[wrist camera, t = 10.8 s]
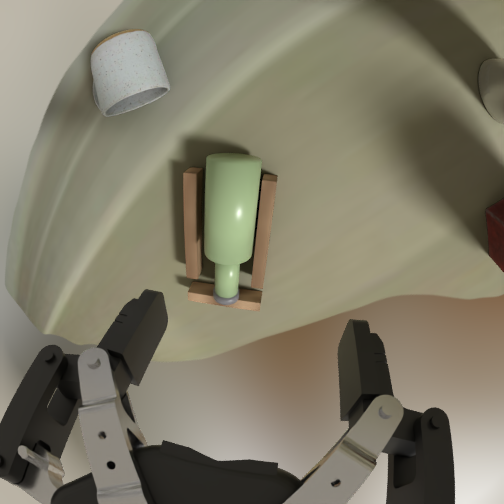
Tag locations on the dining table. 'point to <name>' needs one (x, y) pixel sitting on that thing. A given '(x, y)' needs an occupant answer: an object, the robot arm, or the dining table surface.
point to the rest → (194, 240)
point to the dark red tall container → (496, 232)
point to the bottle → (230, 218)
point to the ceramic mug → (127, 72)
